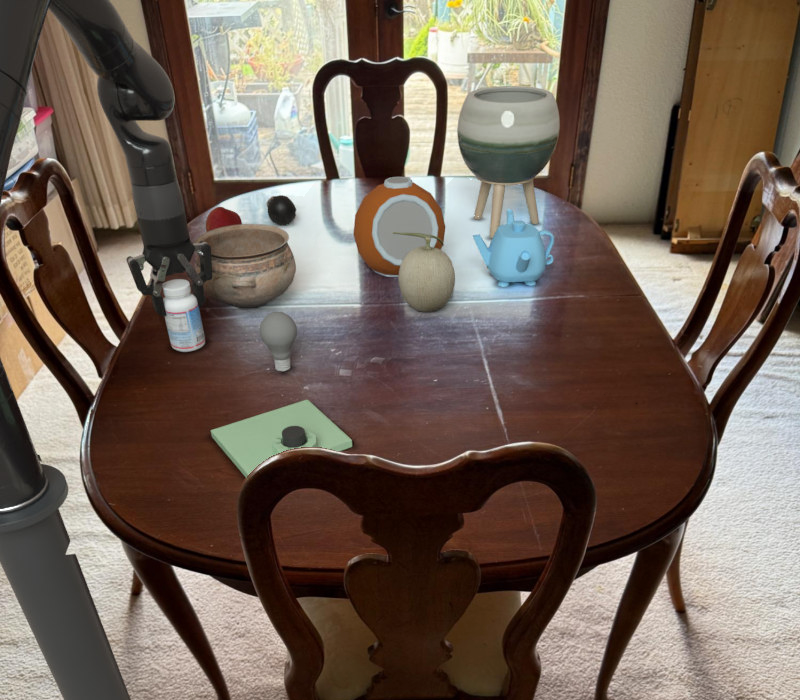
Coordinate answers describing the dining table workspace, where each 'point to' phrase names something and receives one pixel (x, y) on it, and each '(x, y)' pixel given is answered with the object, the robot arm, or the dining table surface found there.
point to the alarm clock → (396, 224)
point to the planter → (507, 142)
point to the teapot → (516, 252)
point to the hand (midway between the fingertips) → (181, 310)
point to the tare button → (293, 436)
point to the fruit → (426, 276)
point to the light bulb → (279, 337)
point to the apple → (221, 218)
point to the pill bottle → (182, 316)
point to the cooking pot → (248, 264)
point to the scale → (277, 434)
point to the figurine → (281, 210)
